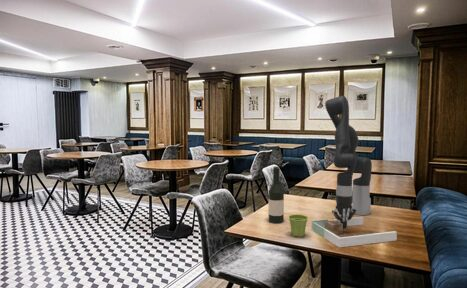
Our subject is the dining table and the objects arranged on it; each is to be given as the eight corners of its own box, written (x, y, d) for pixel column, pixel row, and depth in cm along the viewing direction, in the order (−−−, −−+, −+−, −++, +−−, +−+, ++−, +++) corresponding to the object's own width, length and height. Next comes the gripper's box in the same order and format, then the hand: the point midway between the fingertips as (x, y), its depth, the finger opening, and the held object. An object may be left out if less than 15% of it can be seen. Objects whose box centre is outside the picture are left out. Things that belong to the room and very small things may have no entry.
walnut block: (335, 229, 159) (335, 220, 159) (342, 234, 153) (342, 223, 153) (325, 231, 157) (325, 221, 157) (331, 235, 152) (332, 225, 151)
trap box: (361, 224, 168) (362, 215, 168) (396, 240, 145) (396, 230, 145) (311, 229, 160) (311, 220, 160) (339, 247, 137) (339, 237, 137)
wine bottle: (284, 219, 176) (285, 166, 174) (282, 224, 168) (282, 168, 166) (270, 218, 178) (270, 165, 176) (266, 222, 171) (267, 167, 168)
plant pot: (296, 239, 146) (296, 221, 146) (284, 233, 155) (284, 215, 154) (312, 236, 151) (312, 218, 150) (299, 230, 159) (299, 213, 158)
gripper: (351, 191, 161) (350, 224, 162) (328, 193, 157) (327, 227, 159) (360, 194, 154) (359, 229, 155) (336, 196, 150) (336, 232, 151)
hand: (343, 228), depth 157 cm, fingers closed
